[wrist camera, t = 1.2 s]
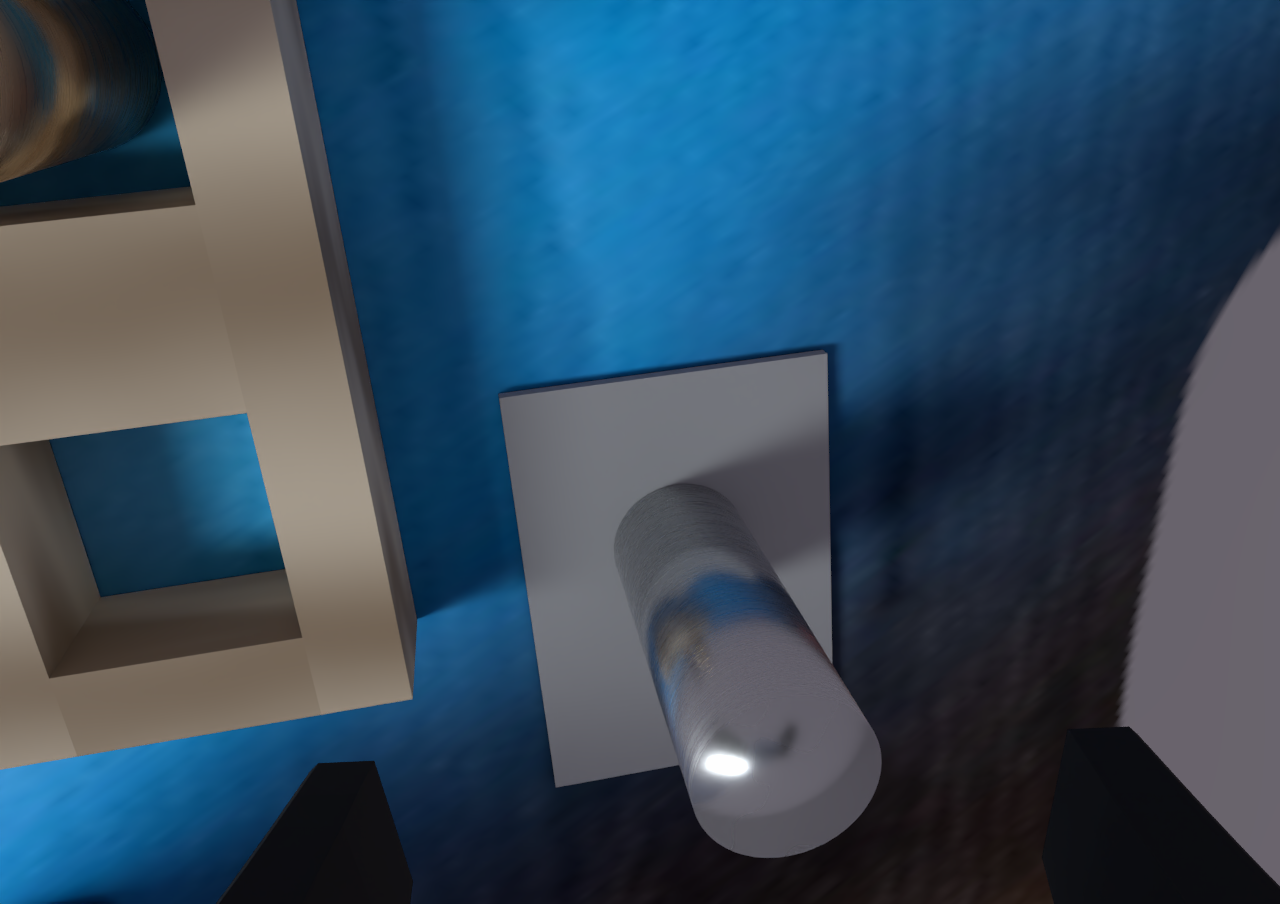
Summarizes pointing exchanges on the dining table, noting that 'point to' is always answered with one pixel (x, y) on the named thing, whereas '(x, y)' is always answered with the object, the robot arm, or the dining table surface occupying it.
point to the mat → (619, 477)
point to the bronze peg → (71, 80)
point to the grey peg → (741, 679)
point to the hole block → (197, 389)
